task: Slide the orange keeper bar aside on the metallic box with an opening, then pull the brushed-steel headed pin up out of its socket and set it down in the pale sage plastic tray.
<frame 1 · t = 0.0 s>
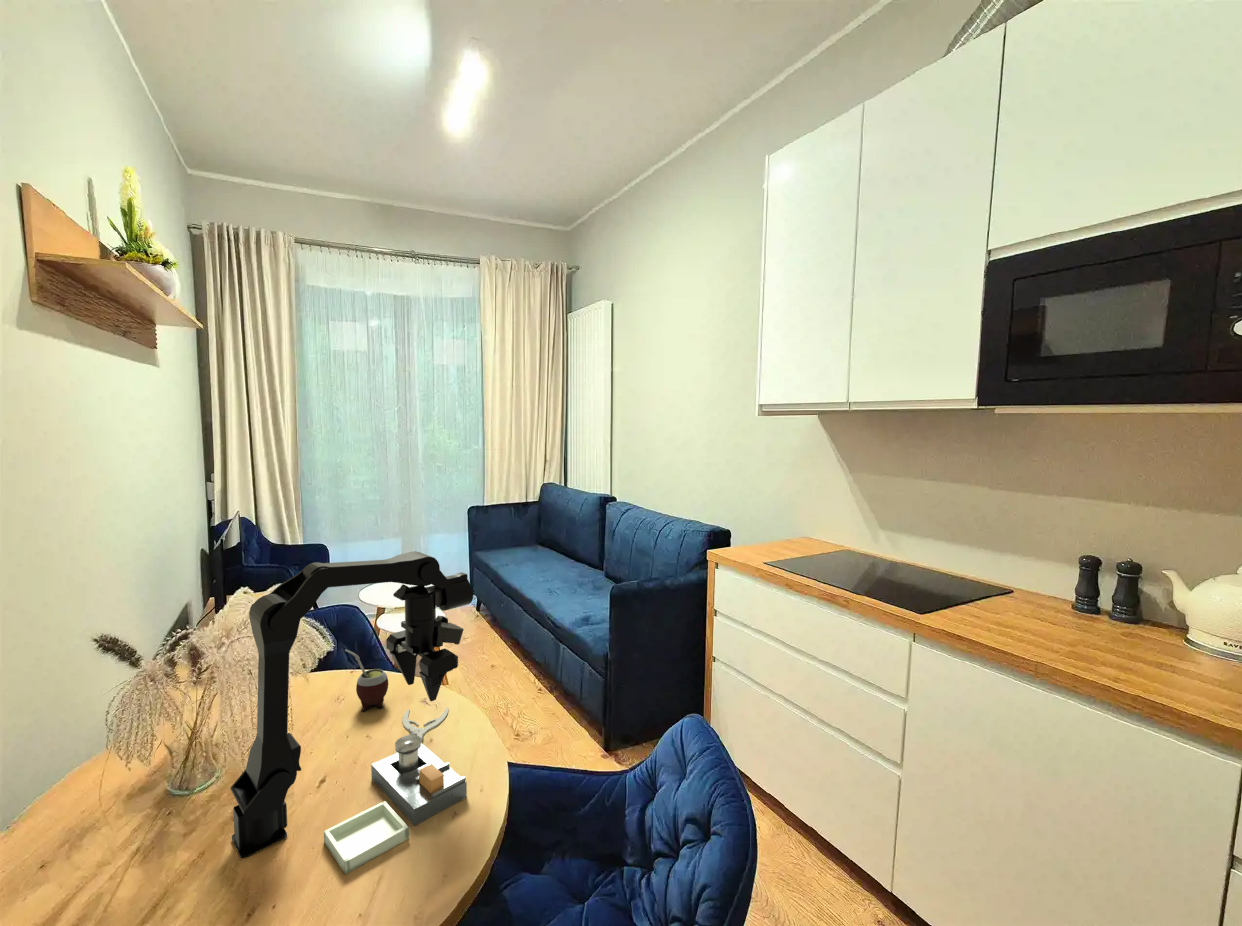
hand: (421, 692, 110), 15 cm above the table, fingers open, 9 cm apart
metallic box with opening: (408, 778, 106), on the table
pin: (408, 778, 106), resting in metallic box with opening
pliers: (420, 730, 123), on the table
mate gourd: (370, 707, 132), on the table
keeper: (431, 778, 99), point 4 cm above the table, slide at 0.0 cm
tray: (366, 840, 90), on the table
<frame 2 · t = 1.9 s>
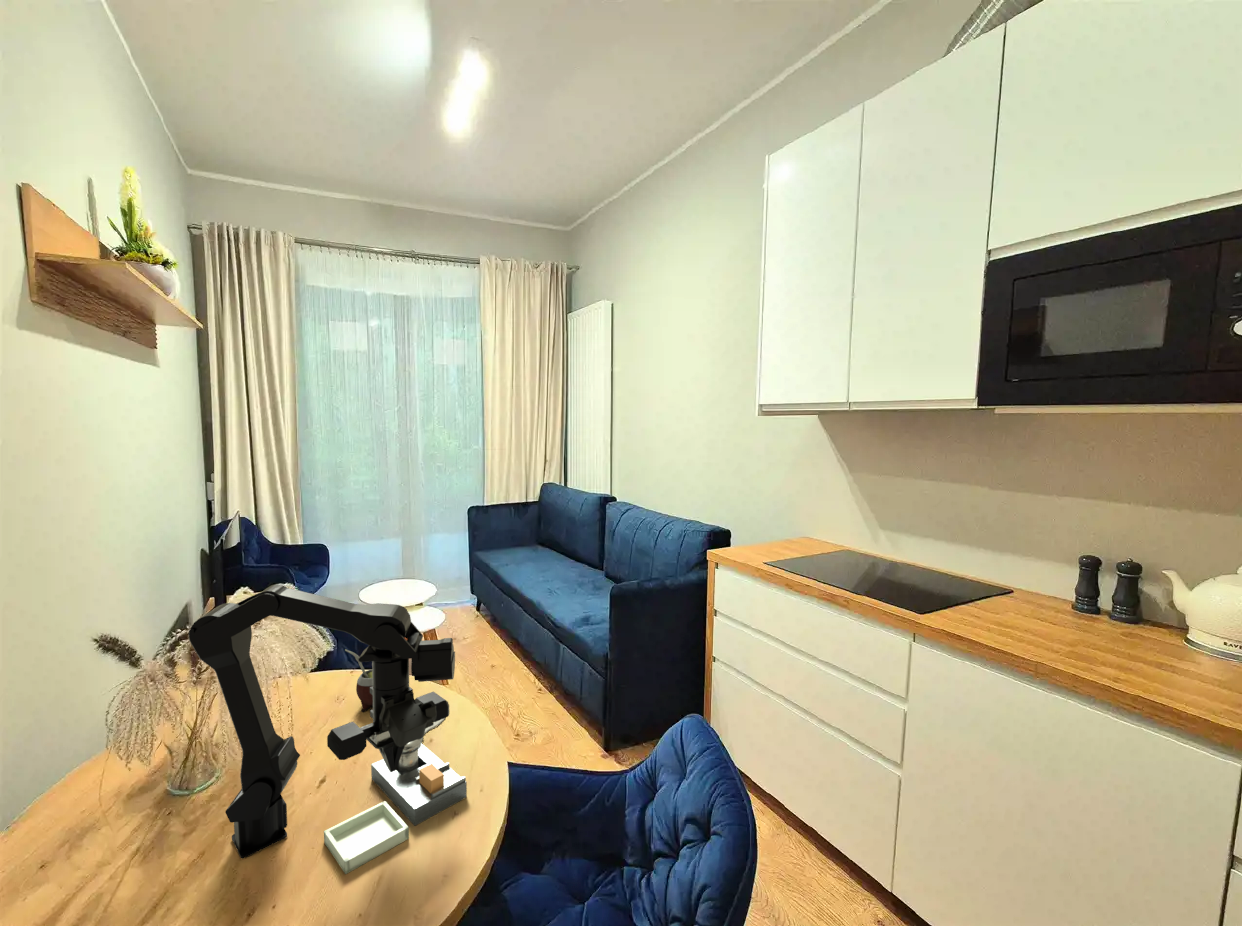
hand: (392, 770, 94), 9 cm above the table, fingers closed
nothing on the table moved.
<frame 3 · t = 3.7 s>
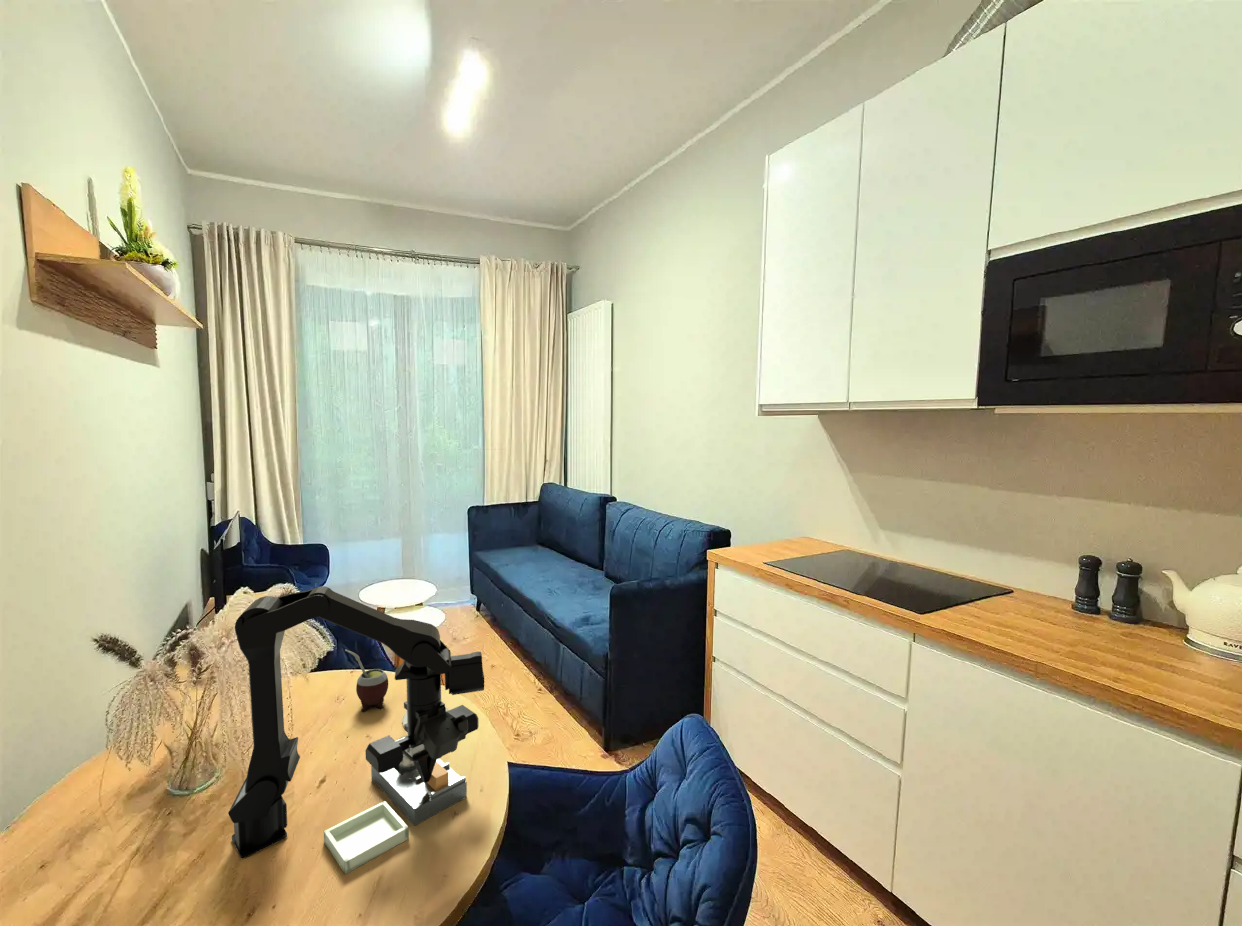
hand: (425, 781, 98), 4 cm above the table, fingers closed
keeper: (436, 776, 100), point 4 cm above the table, slide at 0.9 cm, touching gripper
everything else where it was.
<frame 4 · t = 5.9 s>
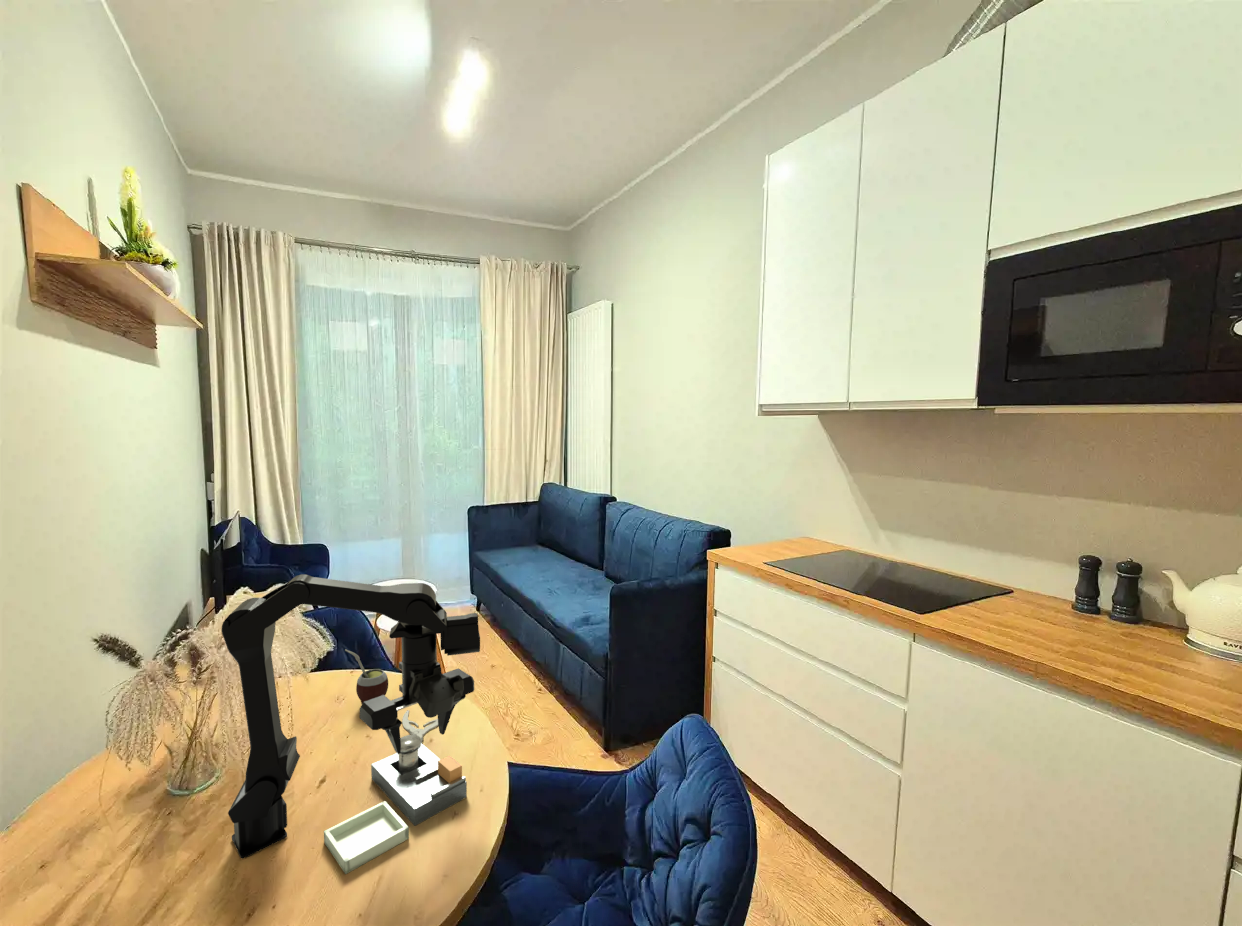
hand: (420, 743, 97), 12 cm above the table, fingers open, 8 cm apart
keeper: (449, 769, 102), point 4 cm above the table, slide at 3.6 cm
everything else where it was.
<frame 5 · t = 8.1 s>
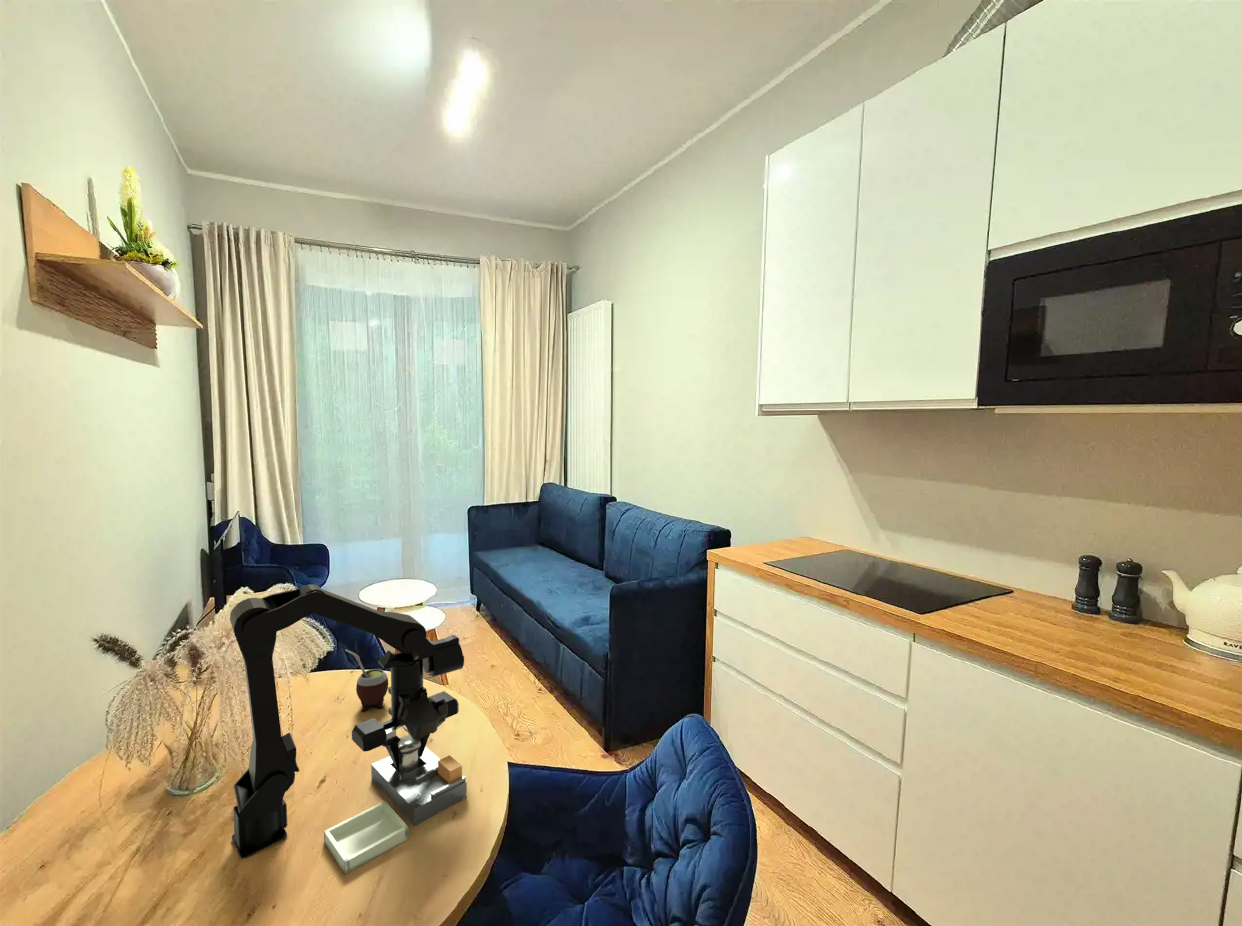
hand: (408, 761, 106), 4 cm above the table, fingers closed on pin, 4 cm apart
pin: (408, 778, 106), resting in metallic box with opening, touching gripper
everything else where it was.
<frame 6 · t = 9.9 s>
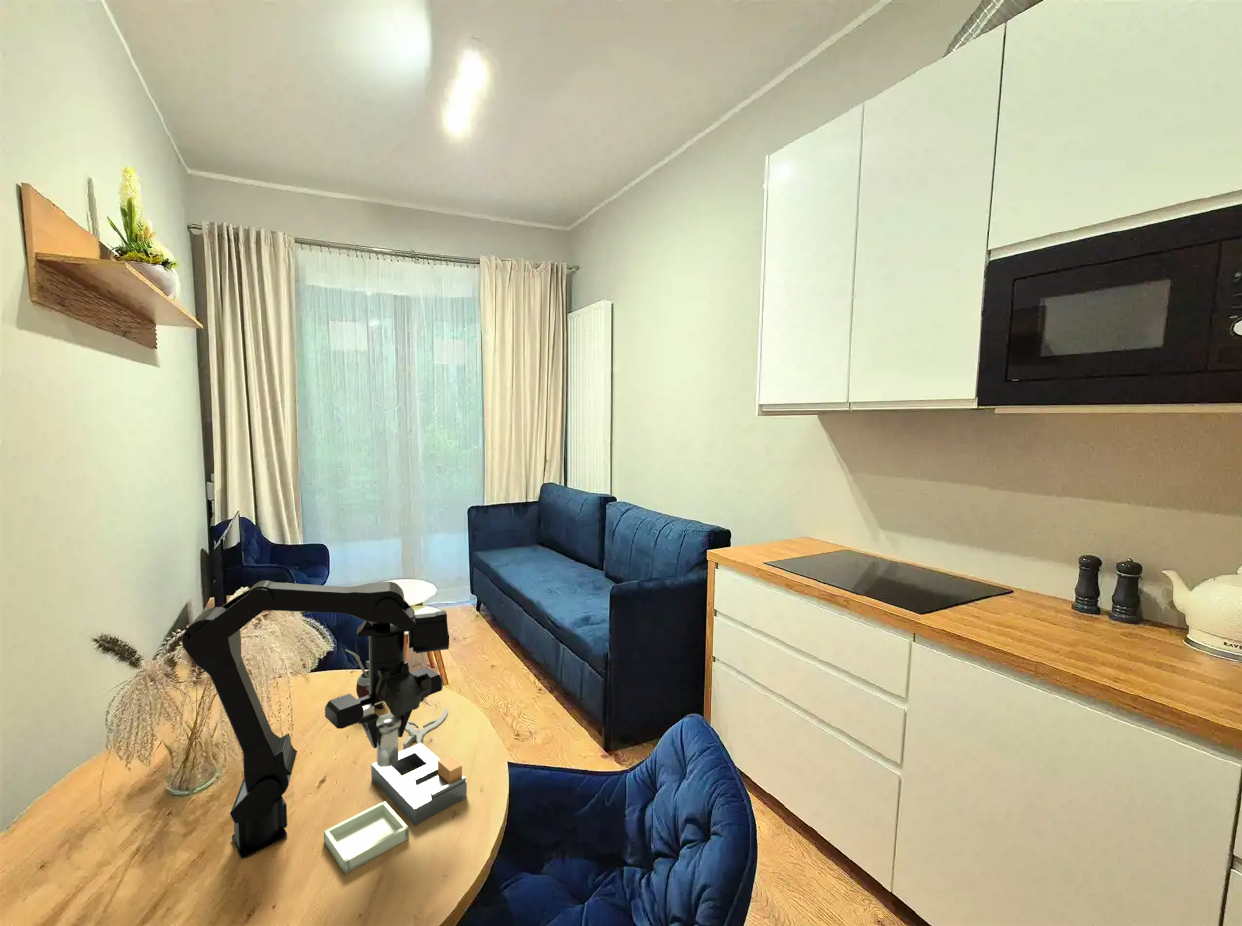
hand: (387, 741, 97), 12 cm above the table, fingers closed on pin, 4 cm apart
pin: (387, 760, 97), point 9 cm above the table, touching gripper
everything else where it was.
when the fingers open (5 cm above the table, at t = 12.0 s): pin stays where it is, resting on tray.
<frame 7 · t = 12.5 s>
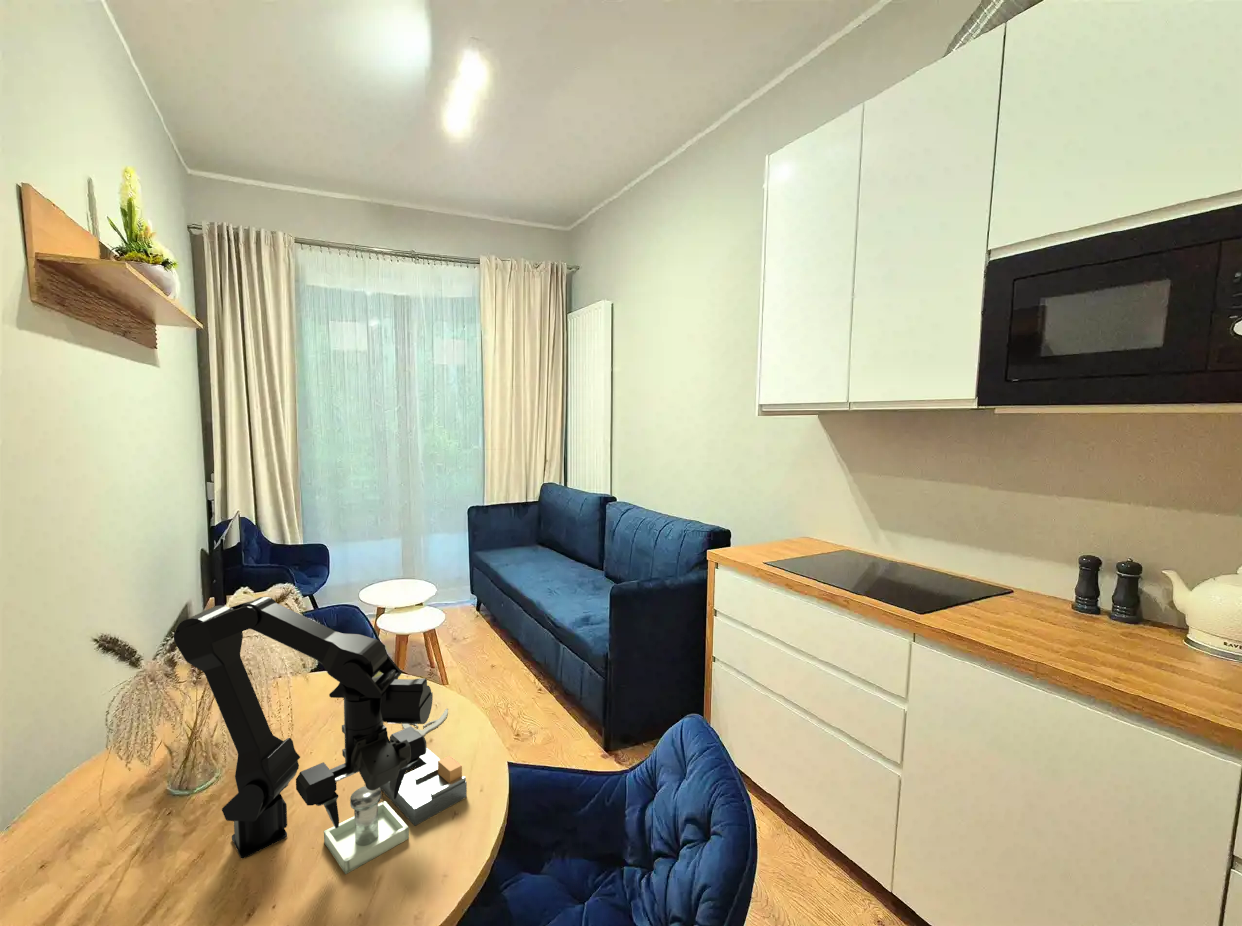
hand: (365, 811, 90), 5 cm above the table, fingers open, 9 cm apart
pin: (367, 837, 90), point 1 cm above the table, touching tray
everything else where it was.
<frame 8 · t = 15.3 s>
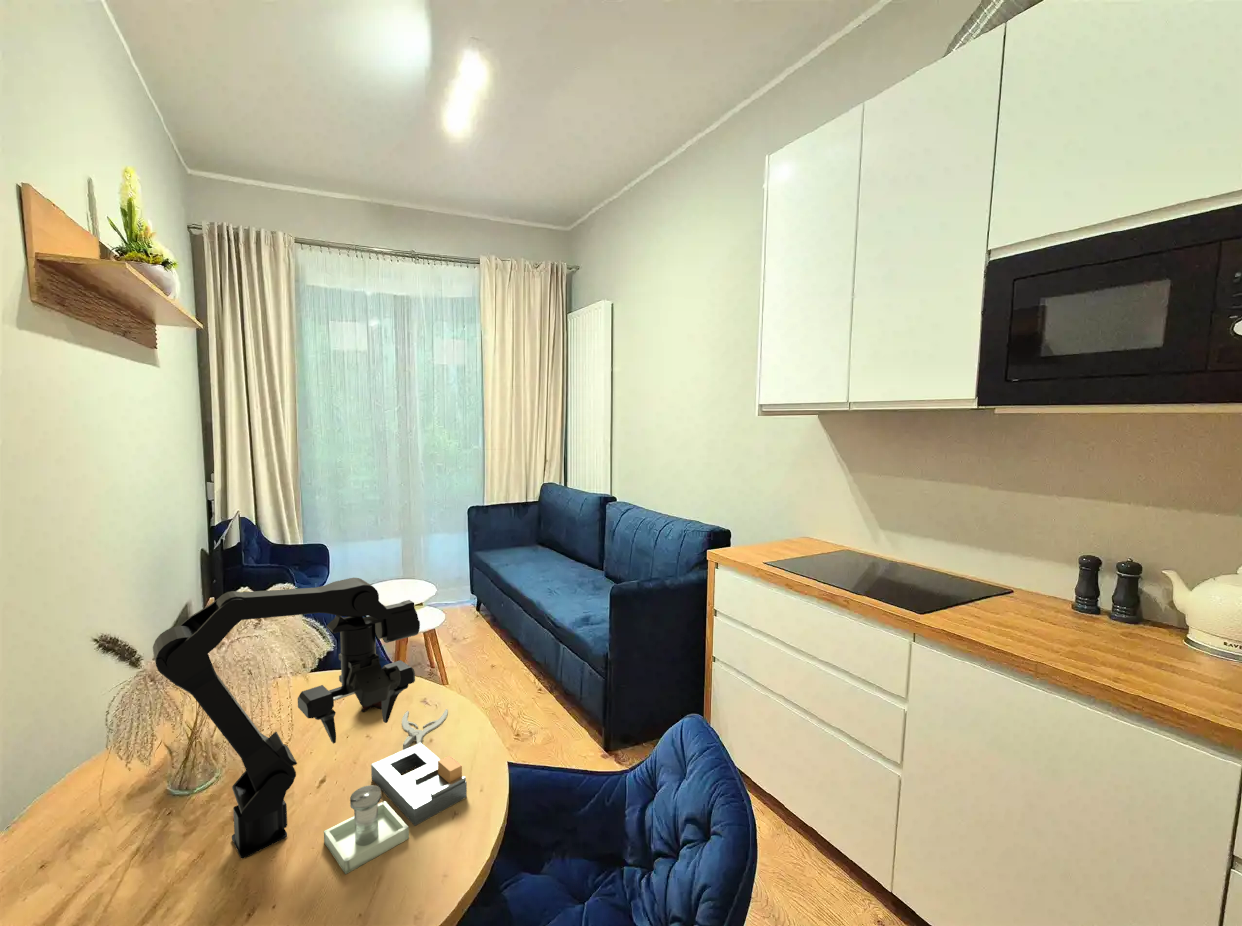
hand: (360, 732, 100), 12 cm above the table, fingers open, 9 cm apart
nothing on the table moved.
at the end: keeper slide at 3.6 cm; pin inside the target area on the tray (0.0 cm from its centre), point 0.5 cm above the tray's base; the gripper is holding nothing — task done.
